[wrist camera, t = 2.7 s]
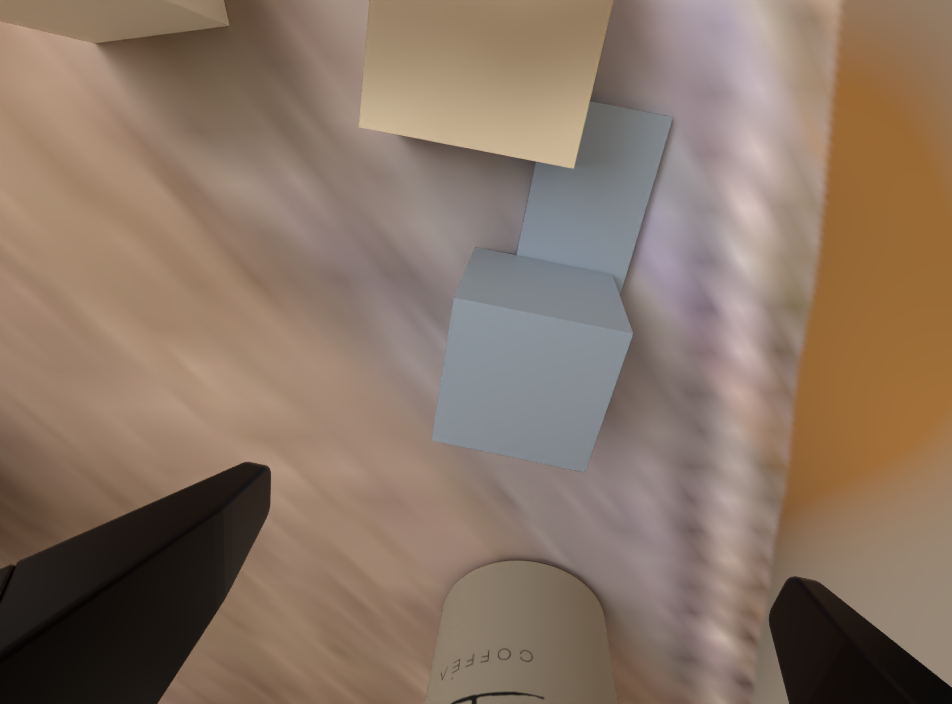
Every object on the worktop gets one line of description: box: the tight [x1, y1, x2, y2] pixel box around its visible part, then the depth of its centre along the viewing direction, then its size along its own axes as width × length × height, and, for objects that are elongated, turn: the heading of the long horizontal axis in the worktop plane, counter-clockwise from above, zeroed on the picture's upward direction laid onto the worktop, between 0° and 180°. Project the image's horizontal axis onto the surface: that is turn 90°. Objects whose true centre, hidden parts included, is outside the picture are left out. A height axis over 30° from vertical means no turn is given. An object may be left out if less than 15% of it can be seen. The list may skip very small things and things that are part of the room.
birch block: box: [359, 0, 614, 169], centre depth 15 cm, size 6×6×4 cm
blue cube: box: [432, 247, 633, 473], centre depth 18 cm, size 5×5×5 cm
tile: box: [516, 101, 673, 295], centre depth 18 cm, size 6×4×1 cm, turn 170°
